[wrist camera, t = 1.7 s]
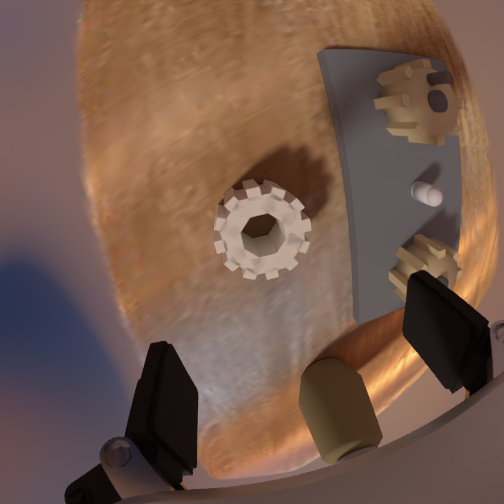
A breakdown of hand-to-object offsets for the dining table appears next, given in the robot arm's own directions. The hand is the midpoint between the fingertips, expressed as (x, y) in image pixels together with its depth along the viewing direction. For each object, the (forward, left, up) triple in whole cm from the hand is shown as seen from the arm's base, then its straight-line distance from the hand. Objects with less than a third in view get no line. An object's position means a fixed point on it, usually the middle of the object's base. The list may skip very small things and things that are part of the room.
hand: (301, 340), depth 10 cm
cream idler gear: (0, 0, -14) cm, 14 cm away
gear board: (0, +15, -14) cm, 21 cm away
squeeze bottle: (+21, +4, -15) cm, 25 cm away
